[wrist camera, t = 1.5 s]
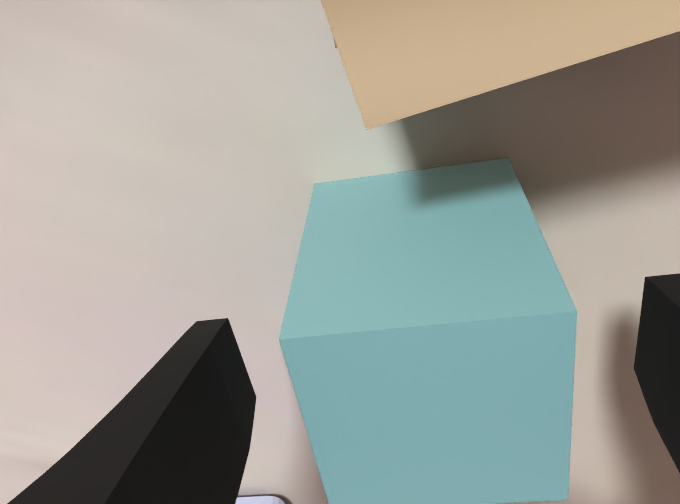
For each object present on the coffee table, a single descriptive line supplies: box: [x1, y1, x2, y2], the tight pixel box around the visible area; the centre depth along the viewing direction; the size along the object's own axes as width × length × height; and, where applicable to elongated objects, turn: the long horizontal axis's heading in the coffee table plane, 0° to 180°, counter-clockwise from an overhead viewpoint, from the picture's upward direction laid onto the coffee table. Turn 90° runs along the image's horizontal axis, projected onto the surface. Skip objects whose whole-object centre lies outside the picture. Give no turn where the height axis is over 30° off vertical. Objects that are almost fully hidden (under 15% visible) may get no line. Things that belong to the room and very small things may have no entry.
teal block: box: [279, 158, 577, 504], centre depth 11 cm, size 4×4×5 cm
